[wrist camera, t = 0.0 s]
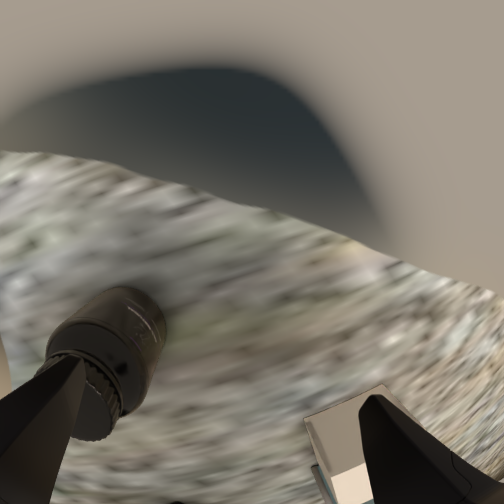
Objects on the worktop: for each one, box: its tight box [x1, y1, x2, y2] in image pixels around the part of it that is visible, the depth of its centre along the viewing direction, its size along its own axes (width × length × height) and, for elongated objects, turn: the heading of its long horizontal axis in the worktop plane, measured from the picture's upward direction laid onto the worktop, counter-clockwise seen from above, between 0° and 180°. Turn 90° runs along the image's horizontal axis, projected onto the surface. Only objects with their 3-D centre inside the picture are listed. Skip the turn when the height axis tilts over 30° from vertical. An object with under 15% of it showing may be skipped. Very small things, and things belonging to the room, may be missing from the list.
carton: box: [304, 384, 426, 504], centre depth 23 cm, size 9×8×8 cm
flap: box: [311, 466, 374, 504], centre depth 24 cm, size 9×2×8 cm, turn 48°
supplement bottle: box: [34, 287, 166, 442], centre depth 17 cm, size 7×7×12 cm
